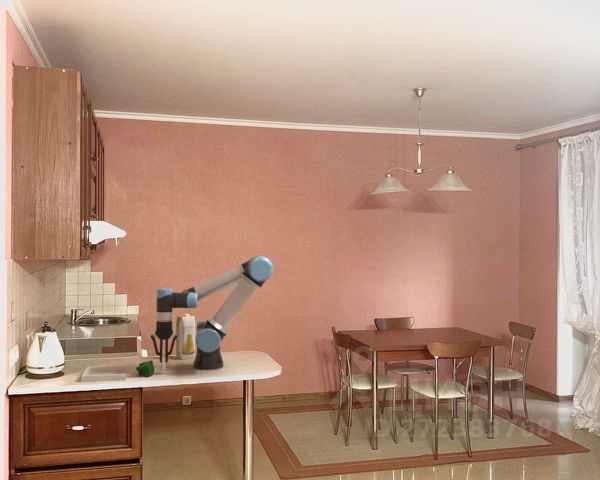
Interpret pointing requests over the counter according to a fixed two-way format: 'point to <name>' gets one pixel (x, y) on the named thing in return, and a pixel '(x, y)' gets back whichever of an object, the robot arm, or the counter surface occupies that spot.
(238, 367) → the counter surface
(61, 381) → the counter surface
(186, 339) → the juice carton
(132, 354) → the counter surface
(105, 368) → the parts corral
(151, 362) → the green lumpy piece
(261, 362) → the counter surface
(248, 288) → the robot arm
